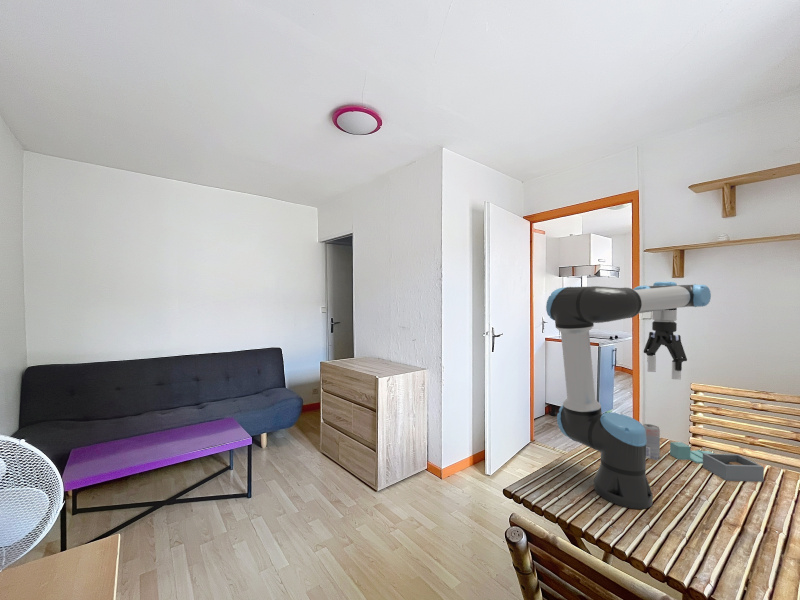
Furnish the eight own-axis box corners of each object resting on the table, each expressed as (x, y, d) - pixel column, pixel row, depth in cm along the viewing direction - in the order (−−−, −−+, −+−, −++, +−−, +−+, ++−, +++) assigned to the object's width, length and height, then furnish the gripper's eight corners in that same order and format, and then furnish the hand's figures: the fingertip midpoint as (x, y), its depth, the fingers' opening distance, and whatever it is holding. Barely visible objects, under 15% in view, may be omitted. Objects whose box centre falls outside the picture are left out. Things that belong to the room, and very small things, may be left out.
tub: (725, 482, 112) (725, 465, 112) (702, 468, 121) (702, 453, 121) (763, 483, 112) (763, 466, 112) (737, 469, 121) (737, 454, 121)
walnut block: (738, 475, 116) (738, 466, 116) (728, 471, 119) (728, 462, 119) (745, 474, 116) (745, 465, 116) (734, 470, 119) (735, 461, 119)
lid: (683, 464, 124) (683, 449, 124) (665, 453, 134) (665, 439, 134) (731, 466, 124) (731, 451, 124) (709, 454, 133) (709, 440, 133)
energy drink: (653, 455, 132) (654, 424, 132) (662, 461, 127) (663, 429, 127) (639, 454, 132) (639, 423, 132) (647, 460, 127) (647, 428, 127)
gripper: (700, 323, 120) (699, 383, 120) (652, 319, 145) (651, 369, 145) (678, 322, 121) (677, 382, 121) (634, 319, 146) (633, 368, 146)
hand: (663, 375), depth 133 cm, fingers open, 13 cm apart
